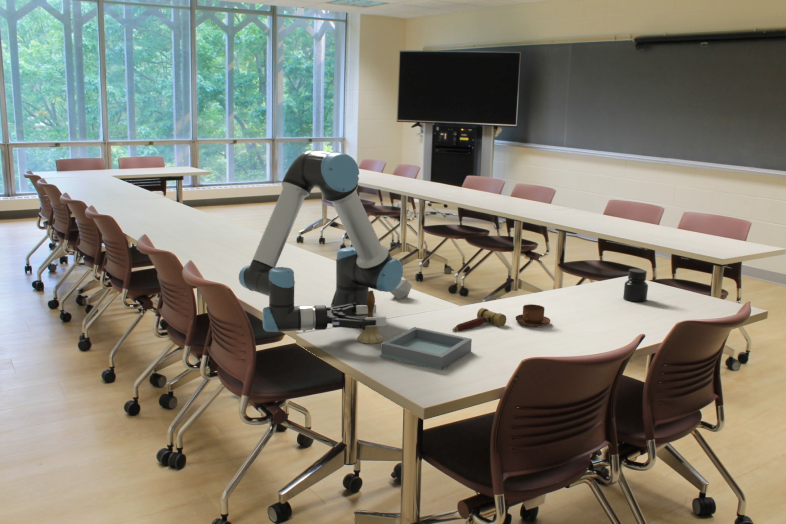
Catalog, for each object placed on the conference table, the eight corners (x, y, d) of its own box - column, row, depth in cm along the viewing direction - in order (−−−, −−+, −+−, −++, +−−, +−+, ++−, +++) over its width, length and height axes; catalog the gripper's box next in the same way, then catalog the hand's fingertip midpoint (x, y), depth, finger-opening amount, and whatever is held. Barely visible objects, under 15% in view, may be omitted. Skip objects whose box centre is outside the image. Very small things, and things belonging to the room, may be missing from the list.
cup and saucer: (547, 331, 239) (548, 313, 238) (512, 326, 243) (513, 309, 242) (552, 321, 250) (553, 305, 249) (518, 317, 254) (519, 301, 253)
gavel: (463, 327, 231) (442, 319, 238) (463, 340, 232) (442, 332, 239) (506, 313, 243) (485, 306, 251) (506, 325, 244) (485, 318, 252)
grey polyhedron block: (413, 301, 272) (417, 279, 276) (397, 293, 267) (401, 270, 271) (398, 305, 278) (402, 282, 282) (383, 297, 273) (387, 274, 277)
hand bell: (353, 337, 226) (354, 288, 223) (377, 334, 230) (378, 287, 226) (362, 345, 219) (363, 295, 215) (386, 342, 222) (388, 293, 219)
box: (413, 338, 226) (414, 326, 225) (470, 351, 216) (471, 338, 216) (381, 356, 209) (381, 343, 209) (441, 370, 200) (442, 357, 199)
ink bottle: (637, 296, 289) (641, 267, 287) (651, 302, 281) (655, 272, 279) (617, 297, 286) (620, 268, 284) (631, 303, 278) (634, 273, 275)
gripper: (308, 317, 231) (371, 315, 236) (319, 342, 207) (389, 338, 212) (308, 295, 229) (372, 293, 234) (319, 317, 206) (390, 314, 211)
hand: (380, 315), depth 223 cm, fingers open, 13 cm apart
